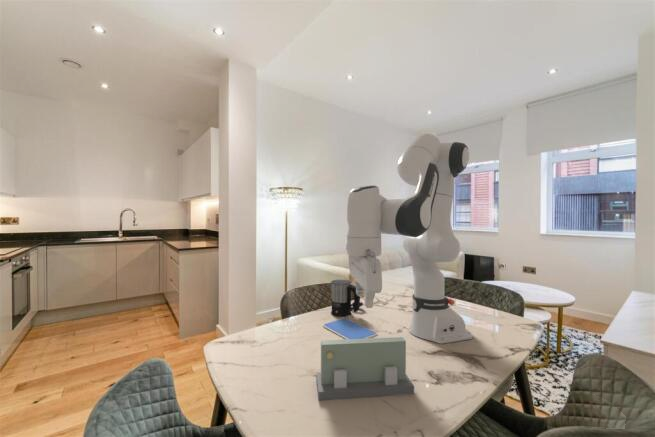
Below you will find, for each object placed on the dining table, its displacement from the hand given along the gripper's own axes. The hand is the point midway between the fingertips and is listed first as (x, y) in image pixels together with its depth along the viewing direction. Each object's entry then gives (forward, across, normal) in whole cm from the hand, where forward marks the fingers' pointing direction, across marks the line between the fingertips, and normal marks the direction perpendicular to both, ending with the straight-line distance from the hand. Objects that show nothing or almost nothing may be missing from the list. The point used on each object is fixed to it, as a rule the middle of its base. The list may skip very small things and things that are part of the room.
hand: (364, 300), depth 70 cm
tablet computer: (+23, +35, -3) cm, 42 cm away
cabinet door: (+20, 0, 0) cm, 20 cm away
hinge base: (+22, 0, 0) cm, 22 cm away
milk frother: (+23, +56, -6) cm, 61 cm away
